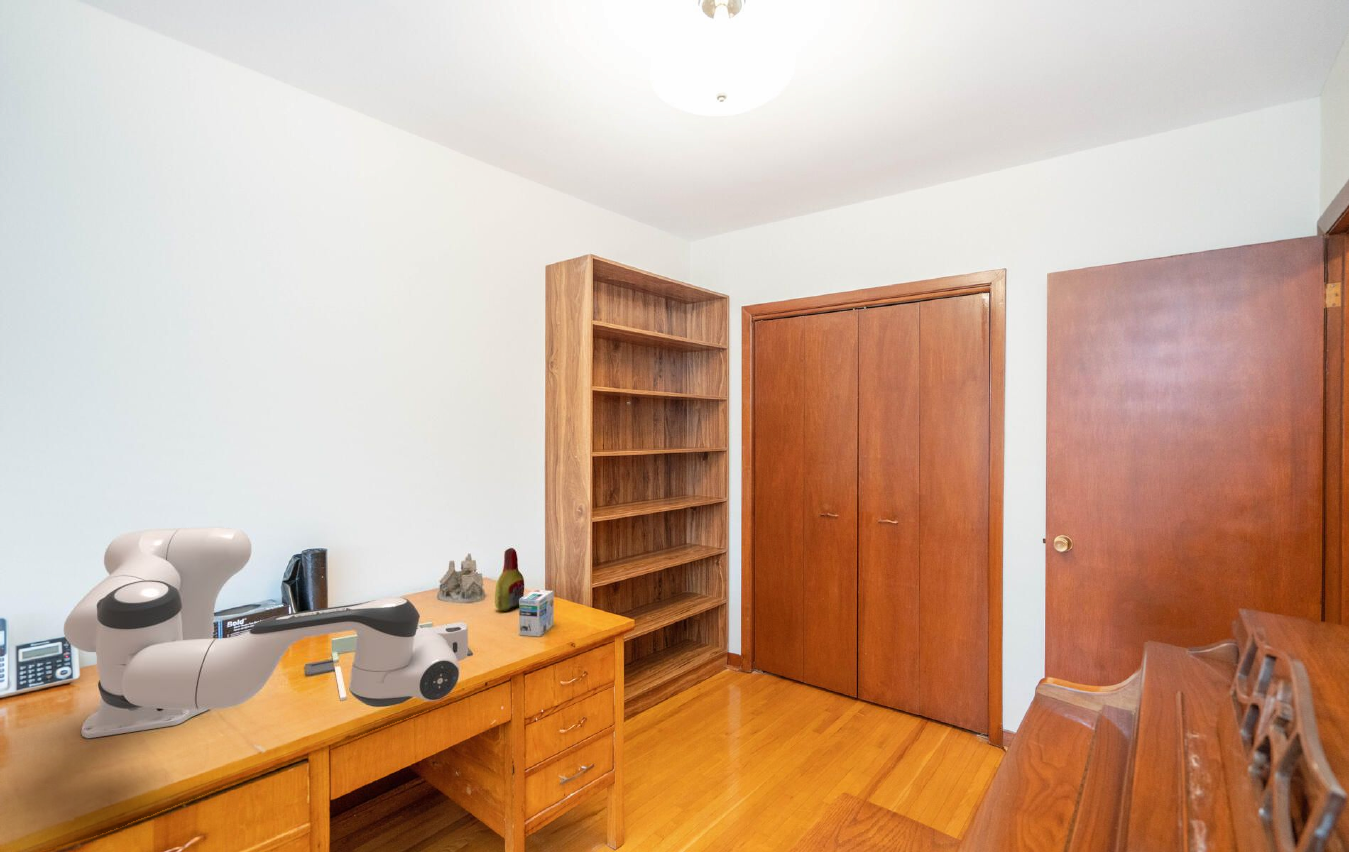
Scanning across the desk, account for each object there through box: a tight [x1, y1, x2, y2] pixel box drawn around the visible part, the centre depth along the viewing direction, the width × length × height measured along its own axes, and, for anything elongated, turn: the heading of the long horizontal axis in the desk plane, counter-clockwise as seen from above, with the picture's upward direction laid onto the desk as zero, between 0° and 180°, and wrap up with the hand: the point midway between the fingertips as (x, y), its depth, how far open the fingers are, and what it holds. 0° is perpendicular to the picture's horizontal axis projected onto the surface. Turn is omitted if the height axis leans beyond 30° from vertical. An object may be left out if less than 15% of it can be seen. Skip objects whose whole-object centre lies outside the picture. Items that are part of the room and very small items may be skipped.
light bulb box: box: [518, 589, 555, 638], centre depth 178 cm, size 11×7×11 cm, turn 168°
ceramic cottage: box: [436, 553, 486, 604], centre depth 212 cm, size 16×16×15 cm
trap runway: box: [304, 621, 474, 701], centre depth 153 cm, size 38×32×4 cm
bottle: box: [494, 547, 525, 612], centre depth 199 cm, size 12×6×20 cm, turn 150°
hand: (412, 630), depth 132 cm, fingers closed
